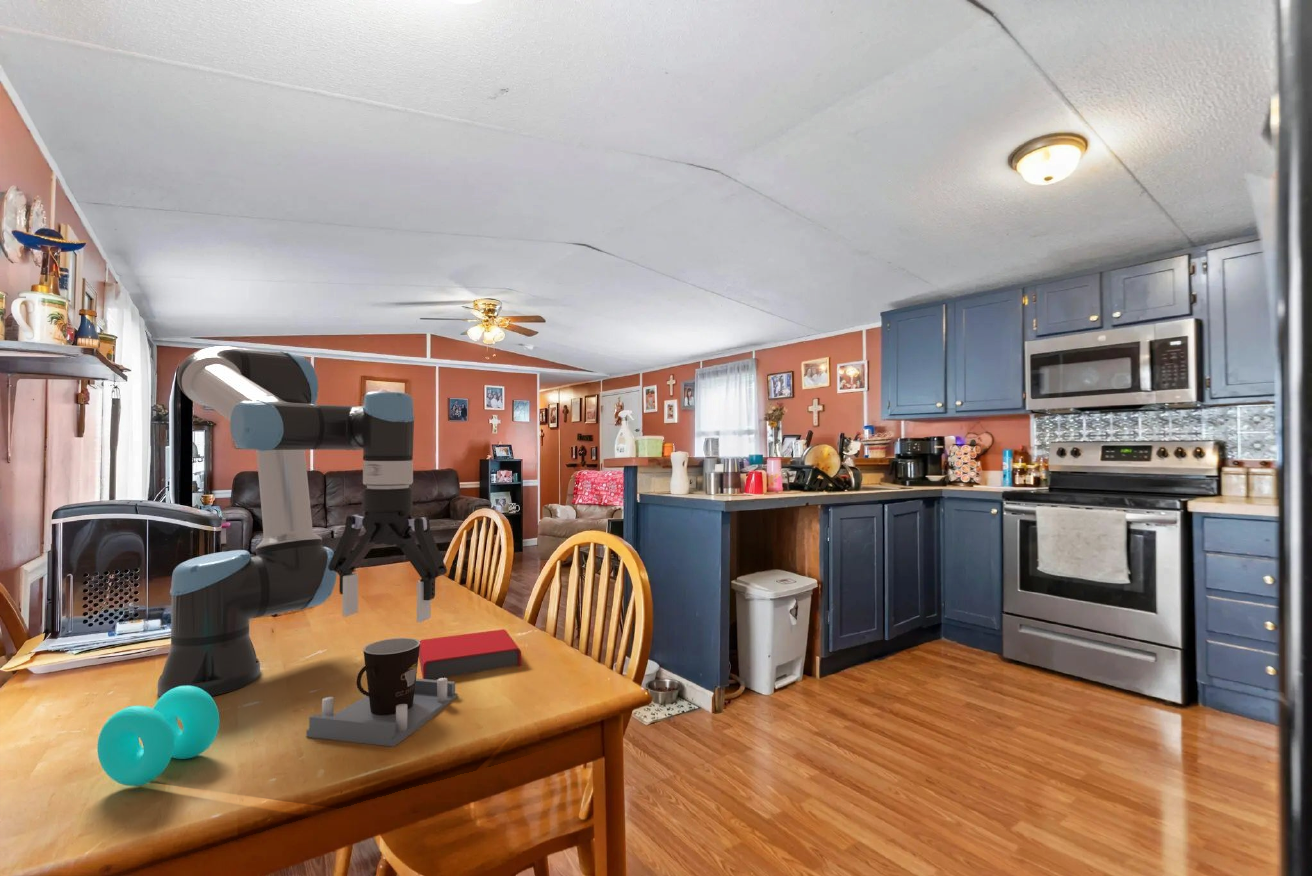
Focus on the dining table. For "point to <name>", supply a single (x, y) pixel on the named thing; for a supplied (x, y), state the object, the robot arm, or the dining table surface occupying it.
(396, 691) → the coffee mug
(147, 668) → the dining table surface
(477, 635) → the red device housing
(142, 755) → the donuts
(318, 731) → the pin tray
